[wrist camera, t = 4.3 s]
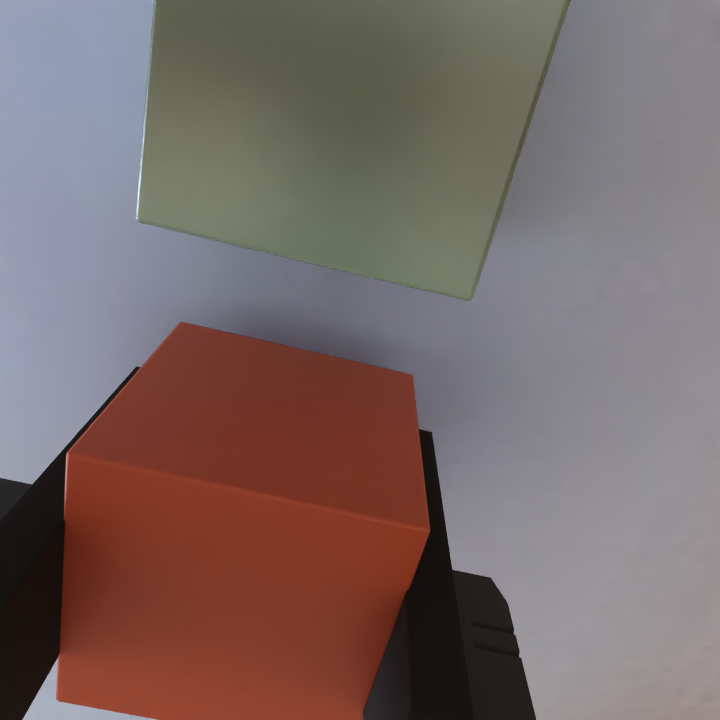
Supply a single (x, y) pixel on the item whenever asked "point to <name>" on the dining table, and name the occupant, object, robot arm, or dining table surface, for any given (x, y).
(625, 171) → the dining table surface
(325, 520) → the block
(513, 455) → the dining table surface
